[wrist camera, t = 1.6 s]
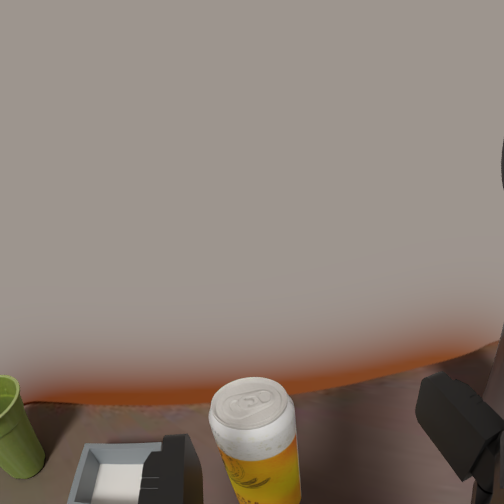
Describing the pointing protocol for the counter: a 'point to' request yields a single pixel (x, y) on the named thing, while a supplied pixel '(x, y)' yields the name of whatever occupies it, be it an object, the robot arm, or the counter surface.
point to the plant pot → (17, 434)
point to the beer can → (257, 440)
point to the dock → (110, 473)
